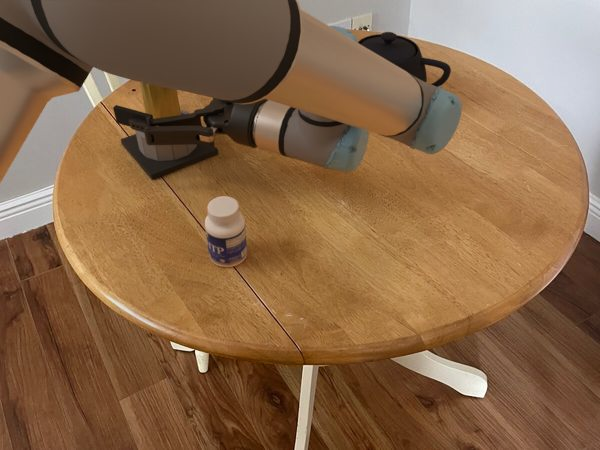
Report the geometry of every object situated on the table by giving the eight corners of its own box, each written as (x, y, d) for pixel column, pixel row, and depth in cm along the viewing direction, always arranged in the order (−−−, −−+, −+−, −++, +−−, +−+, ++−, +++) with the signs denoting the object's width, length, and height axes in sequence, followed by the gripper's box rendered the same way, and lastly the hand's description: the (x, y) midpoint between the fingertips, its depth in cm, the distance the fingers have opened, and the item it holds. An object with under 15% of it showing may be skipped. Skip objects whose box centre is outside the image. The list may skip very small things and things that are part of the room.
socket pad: (152, 180, 92) (146, 154, 89) (121, 144, 99) (115, 118, 96) (218, 154, 97) (215, 128, 94) (185, 121, 104) (181, 96, 101)
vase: (170, 159, 94) (155, 79, 85) (142, 147, 97) (124, 68, 87) (194, 140, 98) (183, 62, 88) (167, 129, 101) (153, 52, 91)
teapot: (450, 86, 113) (462, 25, 105) (436, 129, 103) (448, 65, 94) (327, 65, 119) (329, 6, 111) (302, 103, 109) (302, 41, 100)
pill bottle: (201, 253, 80) (193, 204, 74) (232, 235, 83) (227, 187, 77) (224, 274, 77) (218, 225, 71) (255, 255, 80) (252, 206, 74)
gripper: (222, 193, 80) (97, 154, 87) (298, 105, 97) (189, 78, 103) (217, 148, 75) (85, 110, 81) (298, 63, 92) (183, 38, 98)
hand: (143, 92), depth 92 cm, fingers open, 13 cm apart
